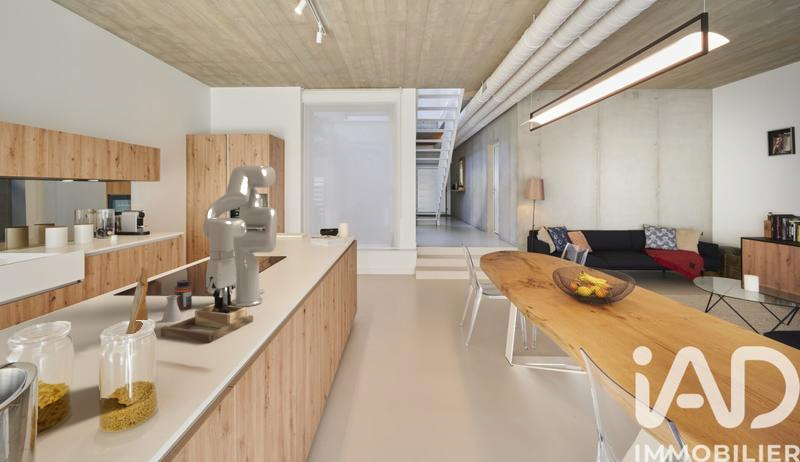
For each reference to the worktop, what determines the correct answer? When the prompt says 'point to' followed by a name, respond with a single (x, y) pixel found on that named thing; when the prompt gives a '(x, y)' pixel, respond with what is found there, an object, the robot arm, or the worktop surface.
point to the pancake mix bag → (139, 304)
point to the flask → (172, 310)
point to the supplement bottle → (183, 294)
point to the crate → (219, 316)
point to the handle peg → (225, 300)
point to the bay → (201, 336)
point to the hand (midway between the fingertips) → (222, 306)
